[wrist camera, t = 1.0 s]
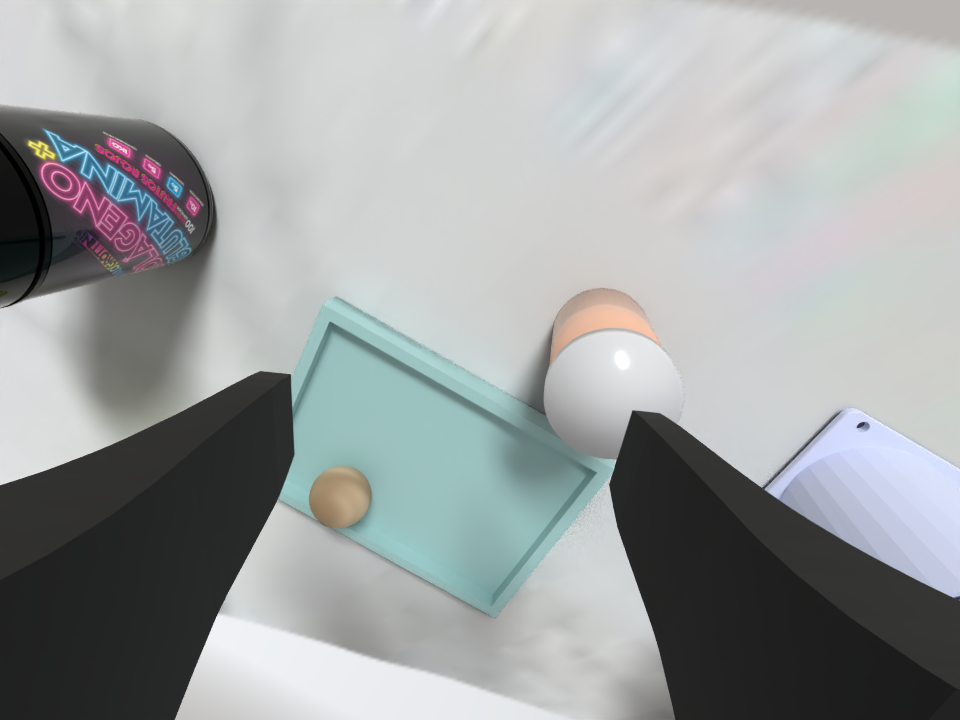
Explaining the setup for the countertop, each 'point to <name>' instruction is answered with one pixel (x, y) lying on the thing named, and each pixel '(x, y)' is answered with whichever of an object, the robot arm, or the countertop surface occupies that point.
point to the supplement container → (92, 200)
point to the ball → (340, 497)
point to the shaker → (606, 372)
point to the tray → (433, 458)
